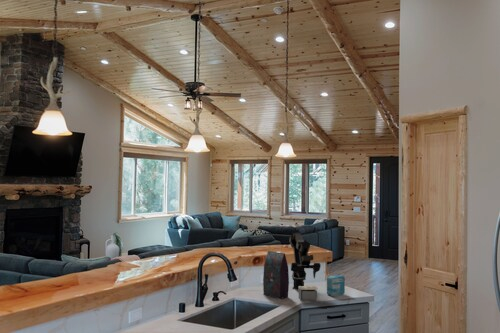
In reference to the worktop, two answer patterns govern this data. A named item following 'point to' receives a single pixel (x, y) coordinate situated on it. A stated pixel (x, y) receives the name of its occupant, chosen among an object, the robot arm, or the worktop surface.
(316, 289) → the lid
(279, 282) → the dark coffee bag
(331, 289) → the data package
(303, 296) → the storage box
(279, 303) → the worktop surface
